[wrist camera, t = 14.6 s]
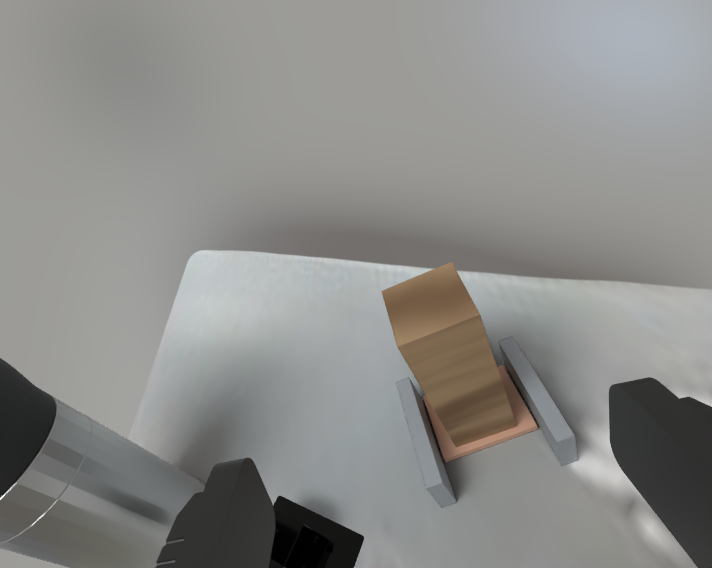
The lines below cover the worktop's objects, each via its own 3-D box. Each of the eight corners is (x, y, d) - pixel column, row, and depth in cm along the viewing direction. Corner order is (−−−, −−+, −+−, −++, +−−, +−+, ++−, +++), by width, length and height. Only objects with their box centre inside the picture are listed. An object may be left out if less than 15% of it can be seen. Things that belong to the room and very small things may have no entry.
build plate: (230, 564, 35) (196, 550, 32) (275, 479, 38) (248, 459, 36) (348, 647, 27) (317, 638, 25) (389, 533, 31) (366, 513, 28)
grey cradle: (578, 460, 29) (574, 435, 26) (441, 507, 30) (426, 488, 28) (519, 362, 36) (512, 335, 33) (410, 404, 37) (395, 382, 35)
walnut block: (516, 426, 32) (480, 314, 23) (455, 447, 32) (397, 346, 24) (491, 374, 35) (451, 261, 27) (437, 394, 36) (381, 291, 27)
